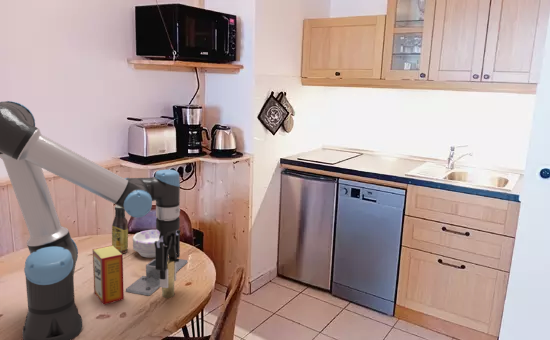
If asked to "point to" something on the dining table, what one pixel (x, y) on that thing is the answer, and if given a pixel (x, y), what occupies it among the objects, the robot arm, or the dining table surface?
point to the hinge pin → (169, 281)
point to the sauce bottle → (120, 230)
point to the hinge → (150, 279)
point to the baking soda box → (108, 274)
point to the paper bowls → (146, 243)
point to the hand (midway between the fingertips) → (168, 283)
